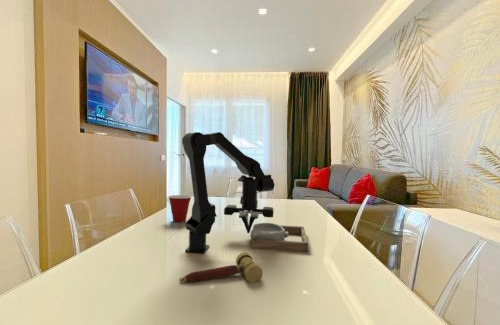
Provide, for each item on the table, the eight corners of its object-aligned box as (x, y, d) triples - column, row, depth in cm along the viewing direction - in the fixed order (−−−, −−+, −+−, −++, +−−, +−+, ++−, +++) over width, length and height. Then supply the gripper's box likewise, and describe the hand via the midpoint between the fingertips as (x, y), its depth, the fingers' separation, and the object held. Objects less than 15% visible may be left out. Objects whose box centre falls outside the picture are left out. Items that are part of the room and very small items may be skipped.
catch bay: (307, 252, 92) (307, 243, 92) (251, 248, 94) (251, 239, 94) (303, 233, 112) (303, 226, 112) (257, 230, 114) (257, 223, 114)
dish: (252, 247, 95) (253, 233, 95) (246, 235, 109) (246, 222, 109) (291, 245, 98) (292, 232, 98) (280, 233, 112) (281, 221, 111)
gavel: (180, 280, 64) (177, 263, 73) (181, 299, 64) (178, 279, 74) (262, 265, 70) (250, 251, 80) (263, 281, 71) (251, 266, 80)
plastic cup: (194, 218, 133) (194, 194, 132) (187, 224, 122) (187, 197, 121) (173, 217, 134) (173, 193, 133) (163, 222, 123) (164, 196, 123)
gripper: (274, 191, 111) (273, 228, 111) (229, 188, 113) (229, 225, 114) (273, 195, 100) (272, 237, 100) (224, 193, 102) (223, 233, 103)
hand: (248, 232), depth 105 cm, fingers closed
